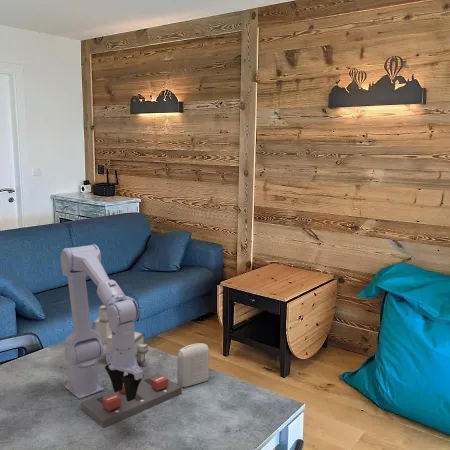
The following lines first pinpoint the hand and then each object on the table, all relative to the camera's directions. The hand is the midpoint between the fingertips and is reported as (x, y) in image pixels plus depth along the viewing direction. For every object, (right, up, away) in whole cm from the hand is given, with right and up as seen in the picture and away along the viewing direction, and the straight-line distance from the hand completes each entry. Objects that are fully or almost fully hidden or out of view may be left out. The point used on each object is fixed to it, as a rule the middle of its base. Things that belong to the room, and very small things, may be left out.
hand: (124, 395), depth 126 cm
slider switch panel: (0, -6, +13) cm, 14 cm away
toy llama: (-8, -2, +37) cm, 38 cm away
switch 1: (-5, -5, +6) cm, 9 cm away
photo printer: (+16, -5, +25) cm, 30 cm away
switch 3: (+7, -3, +17) cm, 18 cm away
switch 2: (-2, -4, +15) cm, 15 cm away
